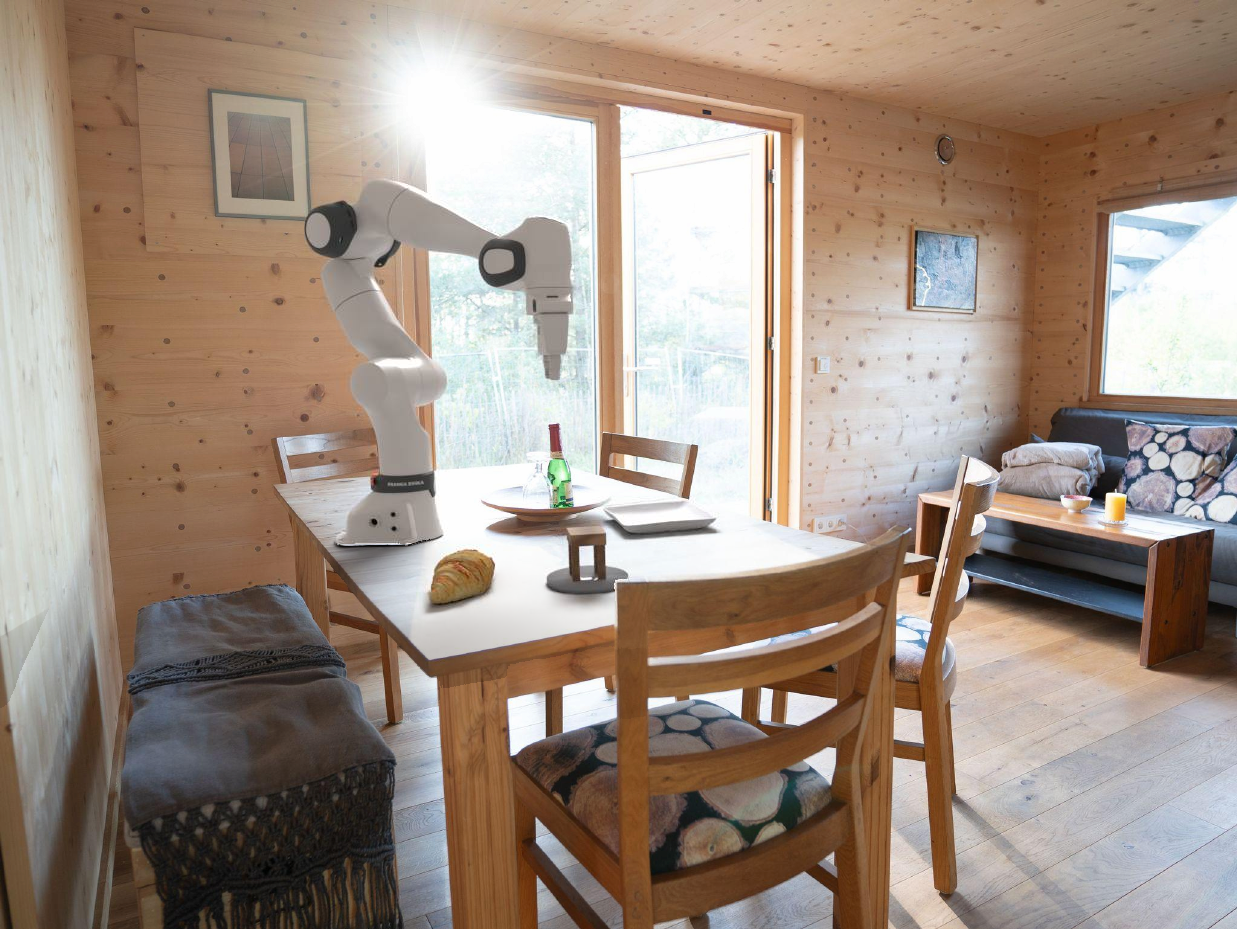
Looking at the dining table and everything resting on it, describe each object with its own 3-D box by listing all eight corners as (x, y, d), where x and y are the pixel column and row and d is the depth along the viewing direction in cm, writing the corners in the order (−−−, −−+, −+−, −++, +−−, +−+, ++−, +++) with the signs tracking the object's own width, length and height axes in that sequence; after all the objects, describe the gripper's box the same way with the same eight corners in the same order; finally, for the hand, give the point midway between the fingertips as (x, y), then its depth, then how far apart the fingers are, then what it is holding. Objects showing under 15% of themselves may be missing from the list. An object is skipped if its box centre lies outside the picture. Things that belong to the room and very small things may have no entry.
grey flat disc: (550, 596, 131) (550, 590, 131) (543, 573, 144) (543, 568, 144) (635, 590, 133) (635, 584, 133) (620, 568, 147) (620, 563, 147)
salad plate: (624, 539, 171) (624, 523, 170) (602, 520, 191) (601, 505, 191) (718, 532, 176) (718, 516, 175) (686, 513, 196) (686, 499, 196)
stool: (572, 582, 135) (570, 535, 134) (567, 572, 141) (566, 527, 140) (607, 579, 136) (606, 533, 135) (601, 570, 142) (600, 525, 141)
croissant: (451, 631, 126) (471, 589, 124) (398, 599, 127) (416, 557, 125) (503, 589, 146) (520, 552, 144) (456, 562, 148) (473, 525, 146)
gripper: (528, 308, 161) (531, 378, 163) (537, 301, 141) (539, 381, 143) (560, 308, 162) (562, 377, 164) (572, 301, 142) (575, 380, 144)
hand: (552, 379), depth 153 cm, fingers open, 8 cm apart
